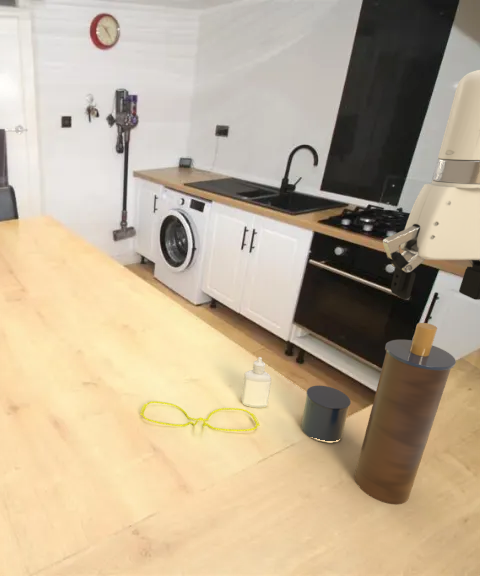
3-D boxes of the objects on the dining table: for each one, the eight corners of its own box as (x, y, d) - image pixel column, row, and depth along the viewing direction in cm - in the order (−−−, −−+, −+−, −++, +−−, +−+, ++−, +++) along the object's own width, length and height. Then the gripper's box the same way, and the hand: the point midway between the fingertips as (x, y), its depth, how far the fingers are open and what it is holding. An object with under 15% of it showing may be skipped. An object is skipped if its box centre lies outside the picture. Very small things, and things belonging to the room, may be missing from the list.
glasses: (254, 413, 91) (256, 395, 89) (263, 444, 82) (266, 424, 80) (141, 403, 95) (142, 385, 94) (138, 431, 86) (139, 412, 84)
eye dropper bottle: (263, 413, 91) (269, 366, 87) (238, 403, 94) (243, 357, 90) (269, 403, 94) (276, 357, 90) (245, 394, 98) (251, 350, 93)
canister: (331, 419, 89) (338, 385, 86) (350, 444, 81) (358, 408, 78) (294, 418, 89) (300, 385, 86) (309, 443, 82) (317, 408, 79)
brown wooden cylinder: (390, 468, 75) (427, 343, 66) (420, 505, 68) (466, 369, 59) (345, 467, 76) (376, 342, 67) (370, 503, 68) (408, 369, 59)
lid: (428, 342, 67) (436, 314, 65) (470, 370, 59) (481, 339, 57) (373, 341, 67) (380, 314, 65) (407, 370, 59) (416, 339, 57)
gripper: (514, 171, 56) (475, 287, 62) (384, 172, 57) (358, 286, 63) (570, 176, 49) (520, 306, 55) (420, 177, 50) (388, 305, 56)
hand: (434, 295), depth 59 cm, fingers open, 9 cm apart
